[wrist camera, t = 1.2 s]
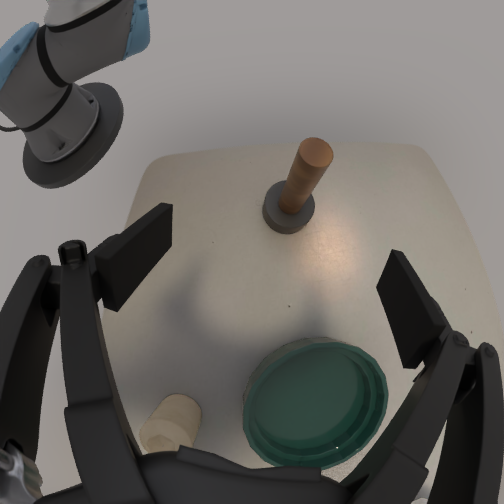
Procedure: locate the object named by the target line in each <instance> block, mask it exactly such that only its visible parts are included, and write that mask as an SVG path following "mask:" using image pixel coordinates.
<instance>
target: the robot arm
mask: <svg viewBox="0 0 504 504" xmlns="http://www.w3.org/2000/svg"><path fill="white" fill-rule="evenodd" d="M46 1H47V2H48V4H49V8H48V10H47V13H46V15H45V17H44V22H45V25H43V26H42V27H39V24H38V23H36V22H30V23H29V24H27V25H25V26H24V27H22V28H21V29H20V30H18V31H17V32H16V33H15V34H14V35H13V36H12V37H11V38H10V39H9V40H8V41H7V42H6V43H5V44H4V45H3V46H2V47H1V48H0V111H1V112H2V113H3V114H5V115H6V116H7V117H8V118H9V119H10V120H11V121H12V122H13V123H14V124H16V127H12V128H6V127H2V126H0V130H2V131H5V132H11V131H16V130H19V129H21V130H22V131H23V132H24V134H25V137H26V139H27V141H28V143H29V145H30V148H31V150H32V152H33V154H34V155H35V156H36V157H37V158H38V159H39V160H40V161H41V162H43V163H45V164H55V163H59V162H61V161H64V160H65V159H67V158H69V157H70V156H72V155H73V154H74V153H76V152H77V151H78V150H79V149H80V148H81V147H82V146H83V145H84V144H85V143H86V142H87V141H88V139H89V138H90V137H91V135H92V134H93V132H94V130H95V128H96V126H97V124H98V122H99V119H100V113H101V109H100V104H99V102H98V101H97V99H96V98H95V96H94V95H92V94H91V93H90V92H88V91H87V90H85V89H83V88H82V87H80V86H78V85H77V84H75V83H74V82H75V81H77V80H79V79H81V78H83V77H85V76H87V75H89V74H91V73H93V72H95V71H97V70H100V69H102V68H104V67H106V66H109V65H111V64H114V63H116V62H118V61H123V60H125V59H126V58H127V57H129V56H132V55H134V54H137V53H139V52H142V51H143V50H144V49H145V48H146V47H147V46H148V44H149V42H150V28H149V15H148V8H147V0H46ZM172 212H173V204H167V203H160V204H159V205H157V206H156V207H155V208H153V209H152V210H150V211H149V212H148V213H146V214H145V215H144V216H142V217H141V218H140V219H138V220H137V221H136V222H135V223H133V224H132V225H131V226H129V227H128V228H127V229H126V230H124V231H123V232H122V233H121V234H115V235H113V236H110V237H108V238H107V239H106V240H104V241H103V243H101V244H99V245H98V247H96V248H94V249H93V250H92V251H91V252H90V253H88V254H87V248H86V244H85V242H83V241H81V240H70V241H67V242H65V243H63V244H61V245H60V246H59V248H58V253H59V258H60V262H61V266H56V265H51V262H50V259H49V257H48V256H46V255H37V256H34V257H33V258H31V259H30V260H29V261H28V262H27V263H26V265H25V266H24V268H23V270H22V271H21V273H20V275H19V277H18V279H17V280H16V282H15V284H14V286H13V288H12V290H11V292H10V294H9V295H8V297H7V300H6V301H5V303H4V305H3V307H2V310H1V312H0V504H411V503H412V501H413V500H414V498H415V497H416V495H417V493H418V492H419V490H420V488H421V487H422V485H423V483H424V482H425V480H426V478H427V475H428V473H429V471H428V469H427V468H425V464H426V462H427V460H428V458H429V456H430V454H431V453H432V451H433V448H434V446H435V444H436V442H437V440H438V438H439V436H440V434H441V431H442V429H443V427H444V424H445V422H446V419H447V423H446V430H445V436H444V441H443V446H442V451H441V455H440V460H439V464H438V468H437V472H436V476H435V479H434V483H433V486H432V489H431V492H430V496H429V499H428V501H427V504H498V501H497V500H498V495H499V489H500V482H501V475H502V466H503V455H504V454H503V453H504V400H503V388H502V379H501V371H500V364H499V357H498V354H497V351H496V350H495V348H494V347H493V346H492V345H490V344H489V343H486V342H483V343H482V344H481V345H480V346H479V347H478V349H475V348H472V347H470V346H469V342H468V340H467V338H466V337H465V336H464V335H463V334H462V333H460V332H458V331H454V330H452V328H451V326H450V324H449V322H448V320H447V319H446V317H445V316H444V313H443V311H441V308H440V306H439V304H438V303H437V302H436V301H435V300H434V299H433V298H432V297H431V296H430V295H429V293H428V292H427V290H426V288H425V286H424V285H423V283H422V282H421V280H420V278H419V277H418V275H417V273H416V272H415V270H414V269H413V267H412V266H411V264H410V263H409V261H408V259H407V258H406V256H405V255H404V253H403V252H401V251H397V250H393V249H392V250H391V253H390V255H389V258H388V260H387V263H386V265H385V268H384V270H383V272H382V275H381V277H380V279H379V282H378V284H377V286H376V288H377V291H378V294H379V296H380V299H381V302H382V304H383V307H384V310H385V313H386V315H387V318H388V321H389V324H390V327H391V330H392V333H393V336H394V339H395V342H396V345H397V349H398V352H399V355H400V359H401V362H402V365H403V368H408V369H416V368H417V367H418V366H419V364H420V363H421V362H422V360H423V362H424V365H425V367H424V368H423V369H422V370H421V372H420V373H419V374H418V375H417V377H416V378H415V379H414V380H413V382H415V383H414V385H413V386H412V388H411V390H410V392H409V393H408V395H407V397H406V398H405V400H404V402H403V403H402V405H401V406H400V408H399V410H398V411H397V413H396V414H395V416H394V417H393V419H392V420H391V422H390V423H389V425H388V426H387V428H386V429H385V430H384V432H383V433H382V435H381V436H380V437H379V439H378V440H377V441H376V443H375V444H374V445H373V447H372V448H371V449H370V451H369V452H368V453H367V454H366V456H365V457H364V458H363V459H362V461H361V462H360V463H359V464H358V465H357V467H356V468H355V469H354V470H353V471H352V472H351V473H350V474H349V475H348V476H347V477H346V478H345V479H343V480H342V481H341V482H340V483H338V482H337V481H335V480H333V479H331V478H329V477H326V476H323V475H321V467H301V466H280V467H271V468H259V469H249V468H246V467H244V466H241V465H239V464H236V463H234V462H232V461H229V460H227V459H225V458H223V457H221V456H219V455H216V454H214V453H210V452H206V451H202V450H198V449H194V448H191V447H187V446H184V445H180V446H179V449H178V451H159V452H153V453H148V454H145V455H142V452H141V450H140V448H139V446H138V444H137V442H136V440H135V438H134V435H133V433H132V430H131V428H130V425H129V422H128V420H127V417H126V414H125V411H124V408H123V405H122V402H121V399H120V396H119V393H118V389H117V386H116V383H115V379H114V376H113V372H112V368H111V364H110V361H109V357H108V352H107V348H106V344H105V339H104V335H103V330H102V325H101V319H100V314H99V309H98V304H97V302H98V301H99V300H100V299H101V298H102V301H103V305H104V308H107V309H110V310H113V311H115V312H118V311H119V310H120V308H121V307H122V306H123V304H124V303H125V302H126V301H127V299H128V298H129V297H130V296H131V294H132V293H133V292H134V291H135V289H136V288H137V287H138V286H139V284H140V283H141V282H142V281H143V279H144V278H145V277H146V276H147V275H148V273H149V272H150V271H151V270H152V269H153V267H154V266H155V265H156V264H157V263H158V261H159V260H160V259H161V258H162V257H163V256H164V254H165V253H166V252H167V251H168V250H169V249H170V247H171V246H172ZM59 317H60V333H61V351H62V362H63V371H64V380H65V387H66V393H67V400H68V407H65V409H64V416H65V422H66V427H67V431H68V436H69V440H70V444H71V448H72V452H73V456H74V459H75V463H76V466H77V469H78V472H79V476H80V478H81V481H82V483H80V484H78V485H75V486H73V487H70V488H67V489H64V490H61V491H58V492H55V493H52V494H49V495H46V496H43V495H42V493H41V490H40V486H42V483H43V481H42V477H41V475H40V474H39V470H38V468H37V466H36V464H35V460H36V454H37V449H38V439H39V425H40V414H41V404H42V396H43V389H44V383H45V378H46V372H47V366H48V362H49V357H50V352H51V347H52V344H53V339H54V335H55V331H56V327H57V324H58V320H59Z"/></svg>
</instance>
